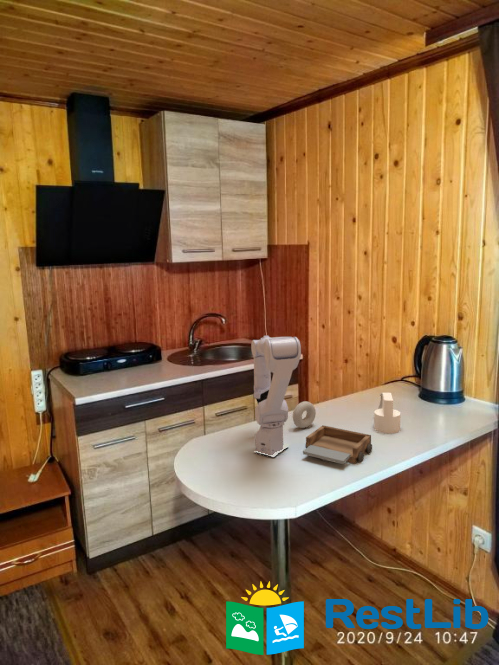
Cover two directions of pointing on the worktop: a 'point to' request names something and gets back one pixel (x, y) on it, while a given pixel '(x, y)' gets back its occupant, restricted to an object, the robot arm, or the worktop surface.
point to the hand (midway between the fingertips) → (262, 410)
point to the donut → (299, 411)
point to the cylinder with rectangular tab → (387, 416)
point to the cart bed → (341, 442)
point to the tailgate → (326, 454)
